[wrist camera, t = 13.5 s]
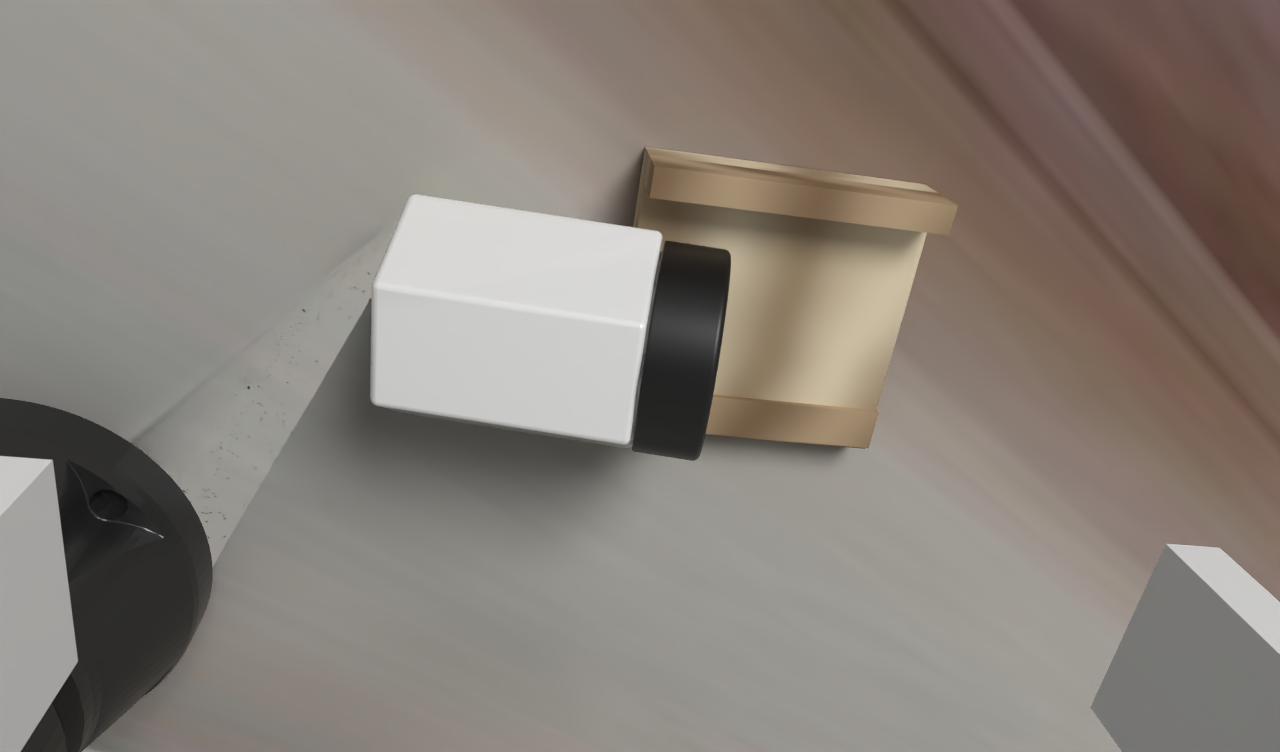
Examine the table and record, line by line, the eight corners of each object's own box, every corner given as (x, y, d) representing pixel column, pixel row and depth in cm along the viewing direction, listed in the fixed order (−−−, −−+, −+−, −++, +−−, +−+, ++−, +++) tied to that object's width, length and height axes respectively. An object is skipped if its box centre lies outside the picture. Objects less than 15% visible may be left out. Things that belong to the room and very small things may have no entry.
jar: (430, 371, 41) (698, 413, 41) (365, 460, 34) (692, 512, 33) (439, 170, 37) (733, 215, 37) (368, 220, 30) (735, 276, 30)
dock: (605, 410, 42) (610, 448, 39) (645, 146, 38) (654, 165, 34) (855, 433, 44) (879, 471, 41) (924, 184, 39) (958, 205, 36)
